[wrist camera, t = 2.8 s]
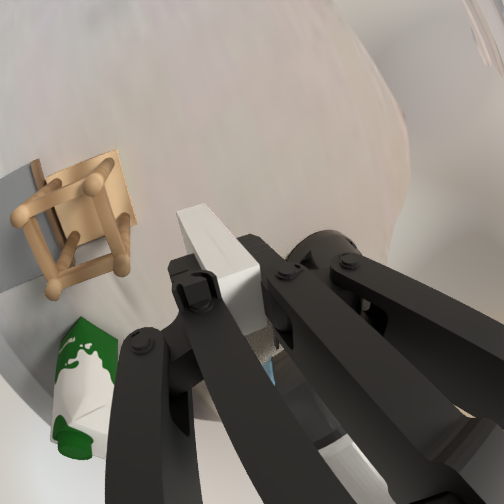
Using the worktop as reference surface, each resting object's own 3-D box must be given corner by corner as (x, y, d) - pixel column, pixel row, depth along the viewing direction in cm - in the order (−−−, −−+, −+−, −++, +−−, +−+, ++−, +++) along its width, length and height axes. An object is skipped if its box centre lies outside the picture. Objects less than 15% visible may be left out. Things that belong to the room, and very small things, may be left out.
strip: (38, 158, 22) (35, 159, 21) (75, 261, 29) (73, 266, 28) (33, 161, 22) (30, 162, 21) (70, 263, 29) (68, 267, 28)
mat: (30, 162, 22) (30, 162, 22) (68, 264, 29) (67, 265, 29) (-41, 206, 18) (-41, 206, 18) (-2, 293, 25) (-3, 293, 25)
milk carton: (79, 309, 32) (70, 434, 16) (126, 339, 37) (145, 456, 21) (54, 341, 32) (44, 455, 16) (98, 367, 37) (108, 475, 21)
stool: (117, 148, 26) (103, 163, 15) (136, 219, 31) (141, 277, 20) (49, 175, 24) (0, 210, 13) (73, 242, 28) (48, 309, 17)
